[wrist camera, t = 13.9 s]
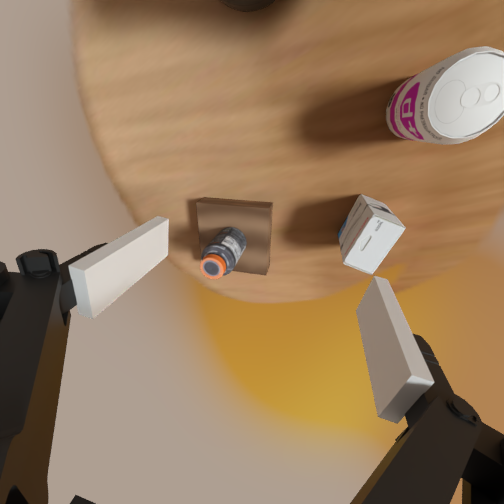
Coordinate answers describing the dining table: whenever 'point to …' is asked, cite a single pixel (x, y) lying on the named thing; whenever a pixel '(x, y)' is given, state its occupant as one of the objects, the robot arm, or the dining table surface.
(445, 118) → the supplement can
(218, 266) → the pill bottle
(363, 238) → the ink box
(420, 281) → the dining table surface
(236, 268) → the walnut block
